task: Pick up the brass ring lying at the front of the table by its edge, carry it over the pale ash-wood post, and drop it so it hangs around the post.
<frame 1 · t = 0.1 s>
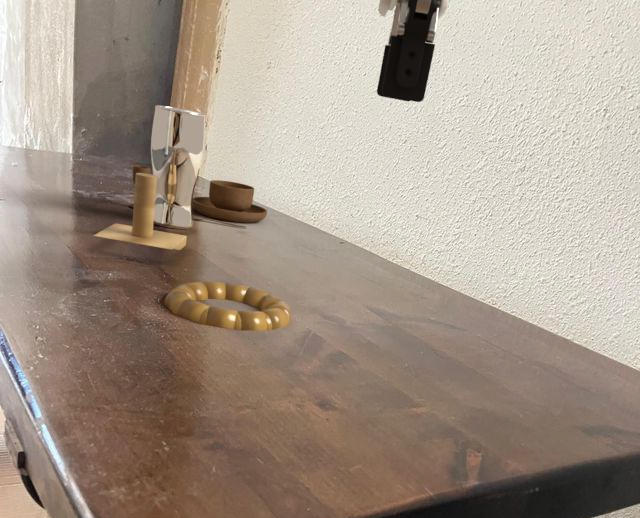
hand: (397, 98, 61), 21 cm above the table, tool pointing down, fingers open, 9 cm apart
post: (141, 245, 89), on the table
ring: (229, 309, 67), point 1 cm above the table
beer glass: (170, 225, 105), on the table
place setting: (203, 212, 118), on the table
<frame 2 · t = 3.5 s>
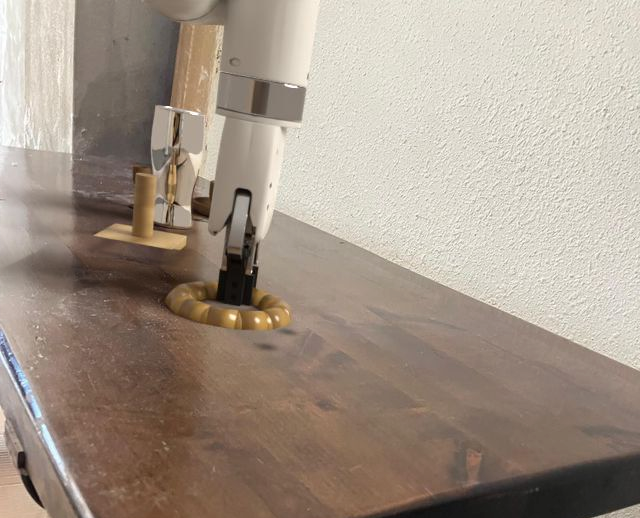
hand: (234, 307, 72), 0 cm above the table, tool pointing down, fingers closed on ring, 2 cm apart
ring: (229, 308, 67), point 1 cm above the table, touching gripper
everything else where it was.
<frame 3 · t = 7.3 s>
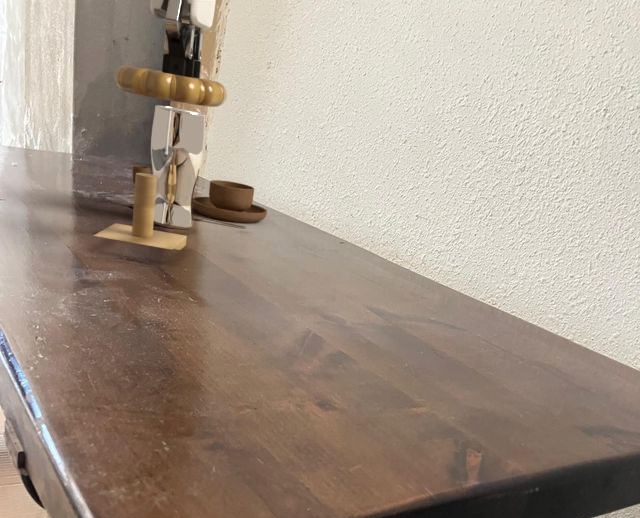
hand: (179, 96, 81), 17 cm above the table, tool pointing down, fingers closed on ring, 2 cm apart
ring: (171, 86, 77), point 18 cm above the table, touching gripper
everything else where it was.
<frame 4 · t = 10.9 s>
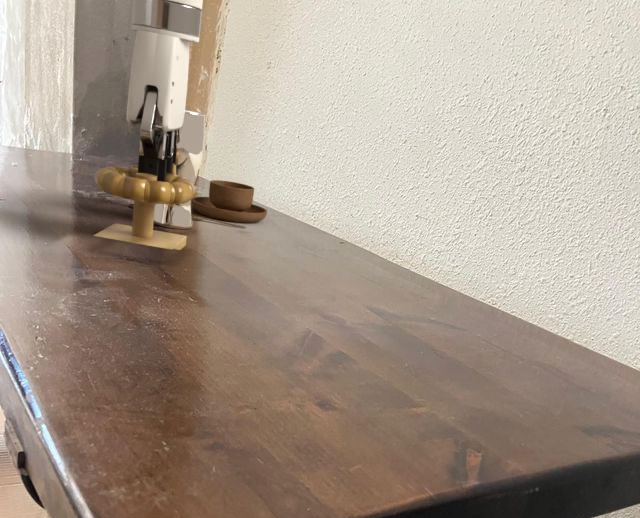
hand: (153, 189, 91), 6 cm above the table, tool pointing down, fingers closed on ring, 2 cm apart
ring: (146, 184, 87), point 7 cm above the table, touching gripper
everything else where it was.
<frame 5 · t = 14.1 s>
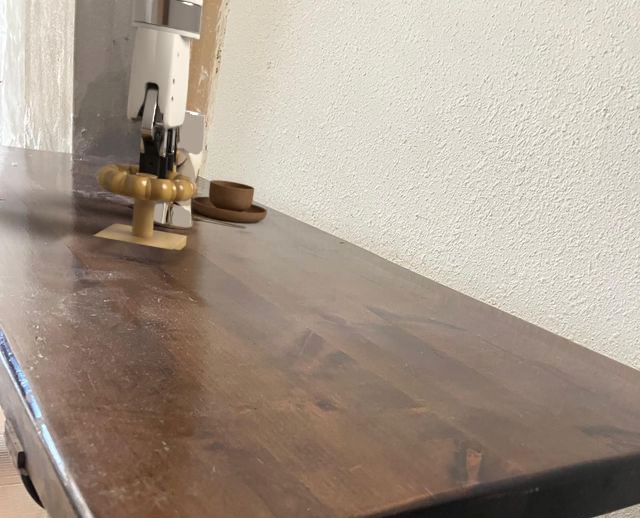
hand: (154, 186, 91), 6 cm above the table, tool pointing down, fingers closed on ring, 2 cm apart
ring: (147, 182, 87), point 7 cm above the table, touching gripper
everything else where it was.
when the fingers open (8 cm above the table, at t = 16.9 s): ring drops 6 cm, resting on post.
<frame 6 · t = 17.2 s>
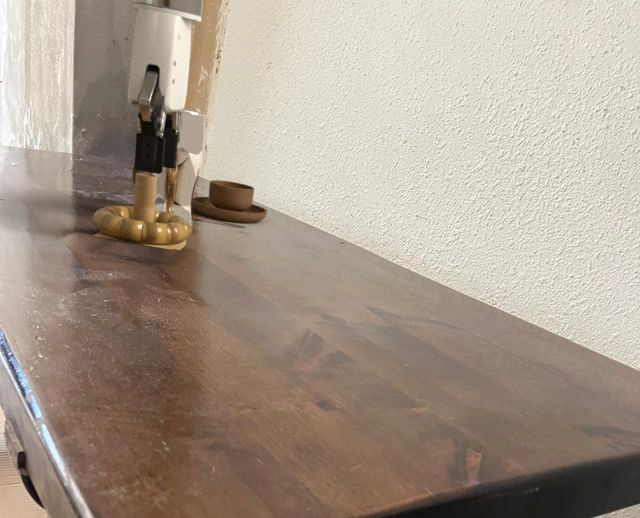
hand: (155, 167, 90), 9 cm above the table, tool pointing down, fingers open, 6 cm apart
ring: (143, 224, 89), point 2 cm above the table, touching post
everything else where it was.
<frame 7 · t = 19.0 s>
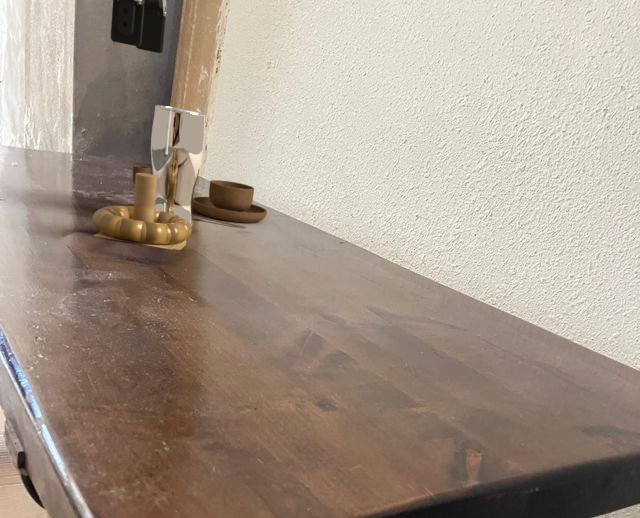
hand: (137, 47, 85), 21 cm above the table, tool pointing down, fingers open, 9 cm apart
nothing on the table moved.
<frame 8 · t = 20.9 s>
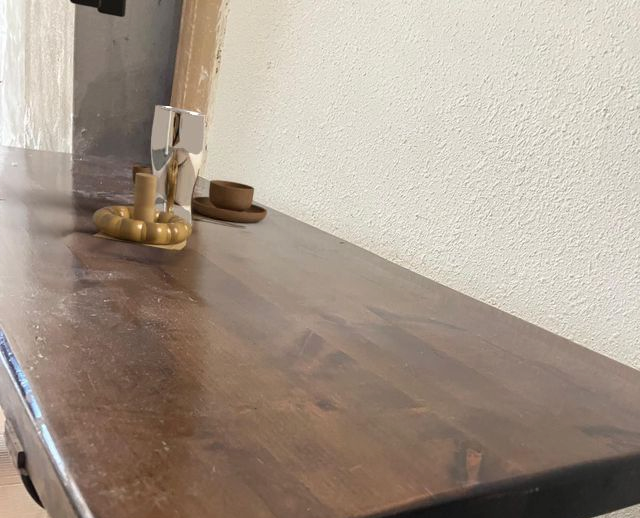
hand: (98, 10, 84), 24 cm above the table, tool pointing down, fingers open, 9 cm apart
nothing on the table moved.
at the end: ring 0.5 cm from the post (horizontally); ring point 2.4 cm above the table; the gripper is holding nothing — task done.
